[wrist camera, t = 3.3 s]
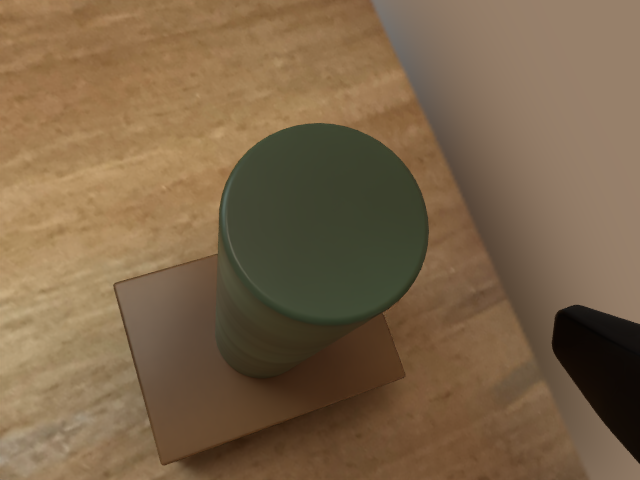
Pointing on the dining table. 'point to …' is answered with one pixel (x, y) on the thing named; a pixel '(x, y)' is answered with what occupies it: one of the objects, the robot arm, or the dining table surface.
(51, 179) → the dining table surface
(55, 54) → the dining table surface
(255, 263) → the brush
